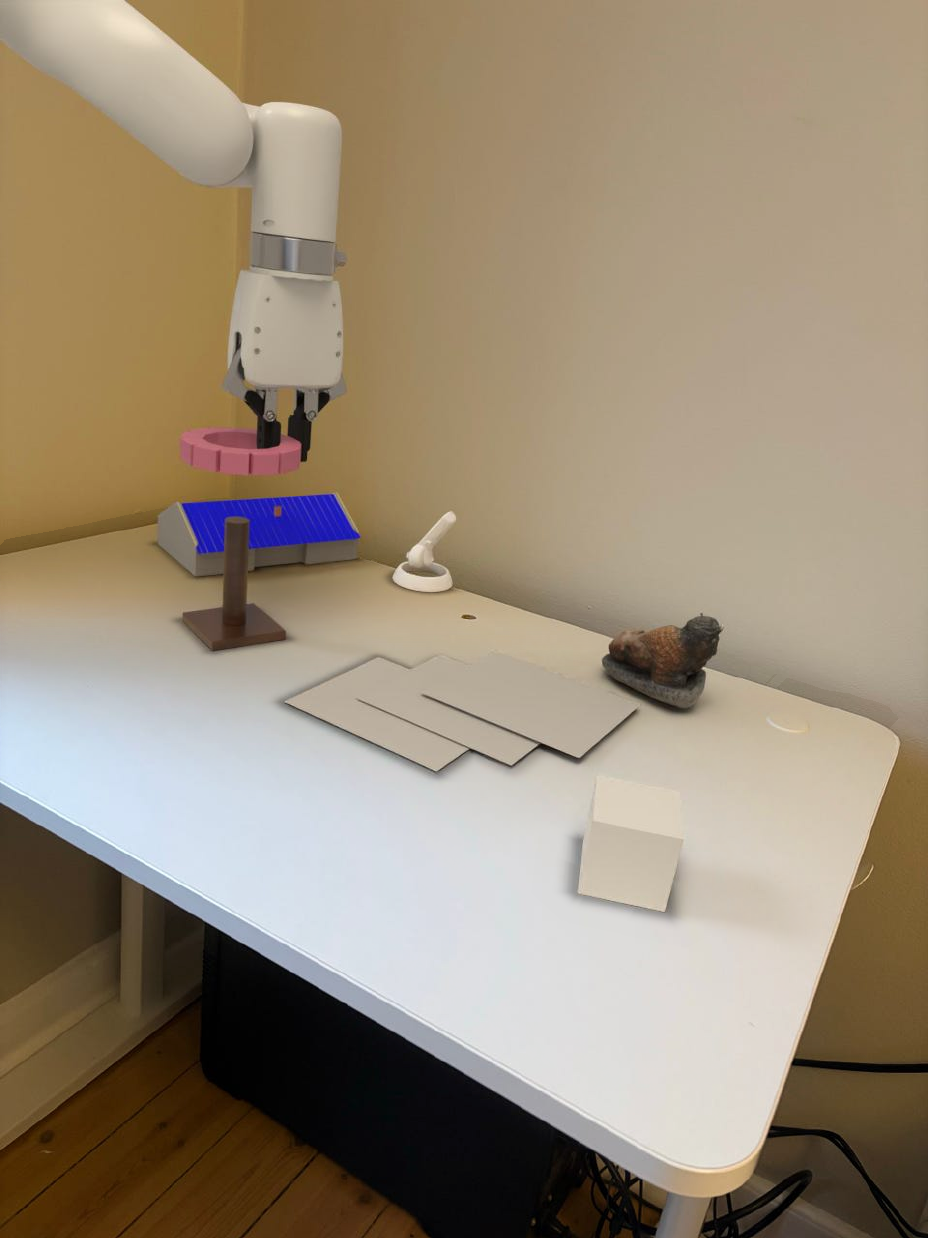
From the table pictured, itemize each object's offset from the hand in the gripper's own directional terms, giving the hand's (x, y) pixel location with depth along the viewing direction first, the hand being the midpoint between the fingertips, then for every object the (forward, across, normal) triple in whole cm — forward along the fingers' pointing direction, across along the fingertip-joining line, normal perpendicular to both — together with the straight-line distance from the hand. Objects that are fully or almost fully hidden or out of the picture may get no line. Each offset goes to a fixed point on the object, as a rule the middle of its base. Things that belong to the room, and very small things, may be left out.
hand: (283, 457), depth 90 cm
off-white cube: (+19, -4, +48) cm, 51 cm away
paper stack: (+19, -9, +22) cm, 31 cm away
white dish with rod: (+19, -24, -8) cm, 31 cm away
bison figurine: (+19, -29, +27) cm, 44 cm away
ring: (0, +4, 0) cm, 4 cm away
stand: (+19, +4, -1) cm, 19 cm away
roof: (+19, -9, -24) cm, 31 cm away
